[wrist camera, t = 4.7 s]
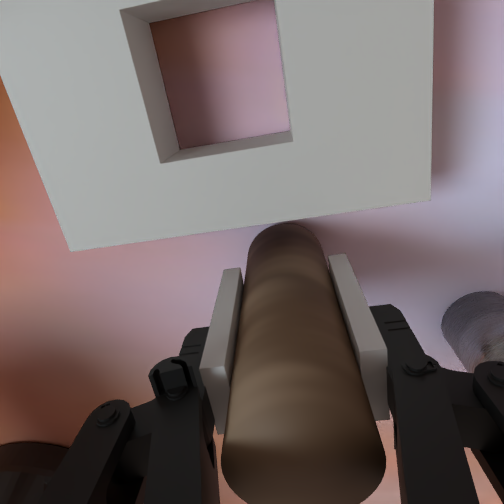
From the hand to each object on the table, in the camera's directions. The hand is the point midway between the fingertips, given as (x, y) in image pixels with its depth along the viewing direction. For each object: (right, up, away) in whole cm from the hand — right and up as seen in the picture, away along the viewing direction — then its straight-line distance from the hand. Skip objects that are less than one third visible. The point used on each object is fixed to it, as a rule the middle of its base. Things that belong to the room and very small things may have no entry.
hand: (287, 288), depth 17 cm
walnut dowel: (0, +1, +3) cm, 3 cm away
